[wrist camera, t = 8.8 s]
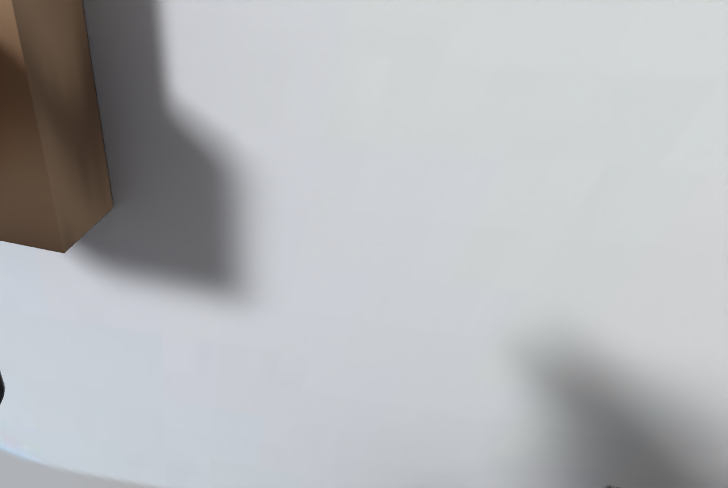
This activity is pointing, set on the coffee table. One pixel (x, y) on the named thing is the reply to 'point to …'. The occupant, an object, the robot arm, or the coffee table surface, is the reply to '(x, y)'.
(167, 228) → the coffee table surface
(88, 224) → the base slab
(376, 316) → the coffee table surface
